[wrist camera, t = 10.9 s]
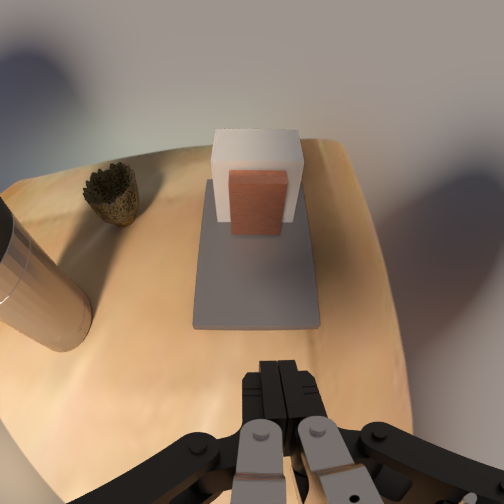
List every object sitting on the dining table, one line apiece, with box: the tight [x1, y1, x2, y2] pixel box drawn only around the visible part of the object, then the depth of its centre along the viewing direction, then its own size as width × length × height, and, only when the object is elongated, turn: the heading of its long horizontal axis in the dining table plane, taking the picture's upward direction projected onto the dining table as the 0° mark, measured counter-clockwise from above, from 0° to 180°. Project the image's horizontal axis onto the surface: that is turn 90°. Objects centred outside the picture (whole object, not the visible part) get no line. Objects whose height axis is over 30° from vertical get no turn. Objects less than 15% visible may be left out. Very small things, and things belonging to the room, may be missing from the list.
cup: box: [83, 162, 139, 227], centre depth 38 cm, size 8×7×8 cm
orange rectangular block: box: [228, 170, 288, 235], centre depth 36 cm, size 6×11×9 cm, turn 0°
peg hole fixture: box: [193, 129, 320, 330], centre depth 34 cm, size 14×22×12 cm, turn 0°
